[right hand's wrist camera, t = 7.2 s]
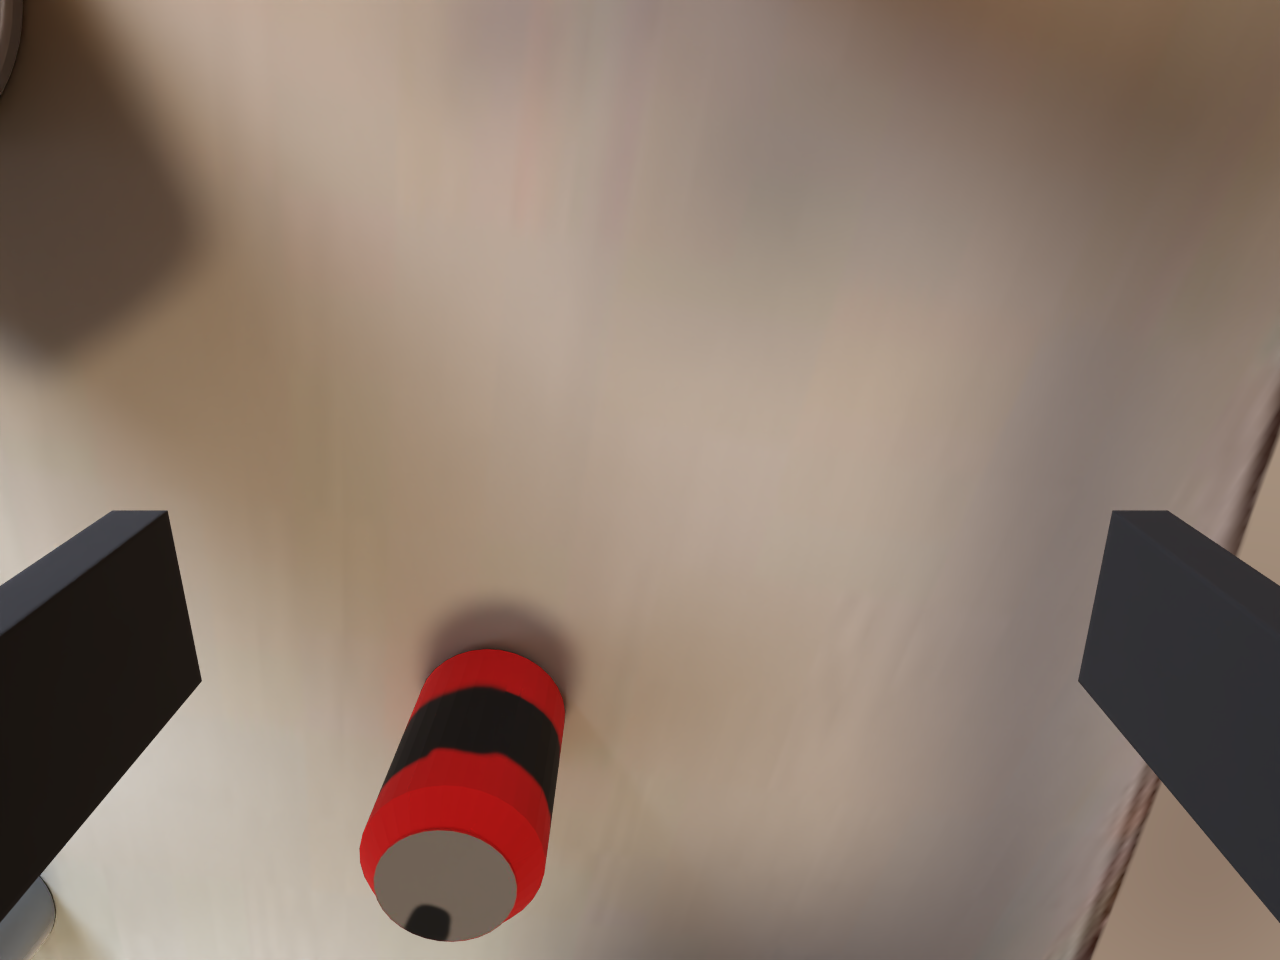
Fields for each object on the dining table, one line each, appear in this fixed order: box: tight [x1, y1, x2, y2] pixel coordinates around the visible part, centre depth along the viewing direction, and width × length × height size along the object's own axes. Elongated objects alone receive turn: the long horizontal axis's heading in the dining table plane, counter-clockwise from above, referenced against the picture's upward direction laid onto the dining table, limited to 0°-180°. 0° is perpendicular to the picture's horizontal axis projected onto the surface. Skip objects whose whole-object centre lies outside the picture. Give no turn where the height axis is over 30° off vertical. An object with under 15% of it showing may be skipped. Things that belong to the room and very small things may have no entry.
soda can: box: [360, 649, 565, 942], centre depth 40 cm, size 8×8×12 cm
